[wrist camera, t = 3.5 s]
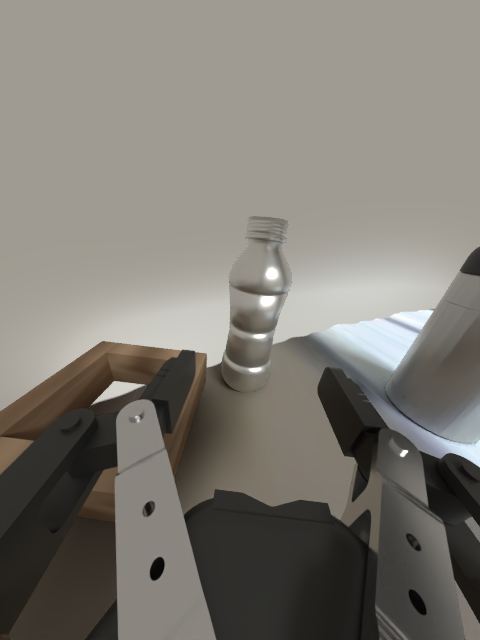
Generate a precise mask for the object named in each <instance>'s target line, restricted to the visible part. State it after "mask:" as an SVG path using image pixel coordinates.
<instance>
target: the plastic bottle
mask: <svg viewBox="0 0 480 640" xmlns="http://www.w3.org/2000/svg"><path fill="white" fill-rule="evenodd" d="M287 228H288V221H287V220H283V219H278V218H270V217H249V220H248V225H247V234H246V236H245V238H247V239H248V244H247V247H246V248H245V250H243V252H242V253H241V254H240V255H239V257H238V258H237V260H236V261H235V262H234V264H233V265H232V268H231V271H230V273H229V284H230V285H229V289H230V306H231V307H230V310H231V311H230V330H229V335H228V340H227V345H226V350H225V352H224V355H223V359H222V362H221V369H222V376H223V378H224V380H225V382H226V383H227V384H228V385H229V386H230V387H231V388H233V389H235V390H237V391H240V392H253V391H256V390H258V389H260V388H261V387H263V386H264V385H265V383H266V381H267V379H268V377H269V375H270V369H271V349H272V342H273V335H274V332H275V327H276V325H277V321H278V318H279V315H280V312H281V310H282V307H283V305H284V302H285V300H286V297H287V295H288V292H289V290H290V287H291V283H292V276H291V271H290V268H289V265H288V262H287V260H286V258H285V256H284V254H283V252H282V244H283V243H286V239H287V238H286V233H287Z"/></svg>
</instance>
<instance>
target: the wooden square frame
mask: <svg viewBox="0 0 480 640" xmlns="http://www.w3.org/2000/svg"><path fill="white" fill-rule="evenodd" d="M180 352H181V351H180V350H172V349H163V348H155V347H146V346H138V345H129V344H122V343H113V342H105V341H102V342H101V343H99V344H98V345H96V346H95V347H93V348H92V349H90V350H89V351H88V352H86V353H85V354H83V355H82V356H80V357H79V358H77V359H76V360H75V361H73V362H72V363H70V364H69V365H67V366H66V367H64V368H63V369H61V370H60V371H59V372H57V373H56V374H54V375H53V376H51V377H50V378H48V379H47V380H45V381H44V382H43V383H41V384H40V385H38V386H37V387H35V388H34V389H32V390H31V391H29V392H28V393H27V394H25V395H24V396H22V397H21V398H19V399H18V400H16V401H15V402H14V403H12V404H11V405H9V406H8V407H6V408H5V409H3V410H2V411H0V474H1V473H2V472H3V471H4V470H5V469H6V468H7V467H8V466H10V465H11V464H12V463H13V462H14V461H15V460H16V459H17V458H18V457H19V456H20V455H21V454H22V453H23V452H24V451H25V450H26V449H27V448H28V447H29V446H30V445H31V444H32V443H33V442H34V441H35V440H36V439H37V438H38V437H39V436H40V435H41V434H42V433H43V432H44V431H45V430H46V429H47V428H48V427H49V426H50V425H51V424H52V423H53V422H54V421H55V420H56V419H58V418H59V417H61V416H62V415H64V414H66V413H68V412H70V411H72V410H75V409H80V408H88V407H89V406H90V405H91V404H92V403H93V402H94V401H95V400H96V399H97V398H98V397H99V396H100V395H101V394H102V393H103V392H104V391H105V390H106V389H107V388H108V387H109V385H111V383H112V382H113V381H120V382H129V383H137V384H145V385H149V384H150V383H151V381H152V380H153V378H154V377H155V376H156V374H157V372H158V371H159V370H160V368H161V367H162V365H163V364H164V362H166V361H167V360H168V359H170V358H171V357H176V358H177V357H178V355H179V354H180ZM206 356H207V354H205V353H196V352H195V359H196V373H195V378H194V381H193V384H192V386H191V389H190V391H189V394H188V396H187V399H186V401H185V404H184V406H183V409H182V411H181V413H180V416H179V418H178V421H177V423H176V426H175V428H174V431H173V433H172V434H167V433H165V435H164V438H163V441H164V445H165V448H166V450H167V454H168V457H169V461H170V465H171V469H172V473H173V477H174V479H175V476H176V472H177V469H178V466H179V463H180V460H181V457H182V454H183V451H184V447H185V444H186V441H187V438H188V435H189V432H190V429H191V425H192V422H193V419H194V416H195V413H196V410H197V407H198V404H199V400H200V397H201V394H202V391H203V388H204V385H205V382H206V359H207V357H206ZM117 473H118V467H114V468H110V469H106V470H103V472H102V474H101V476H100V477H99V479H98V481H97V483H96V484H95V486H94V488H93V489H92V491H91V493H90V495H89V496H88V498H87V500H86V501H85V503H84V505H83V507H82V508H81V510H80V512H79V513H78V515H77V517H80V518H87V519H95V520H103V521H110V522H115V476H116V474H117Z"/></svg>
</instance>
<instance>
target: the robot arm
mask: <svg viewBox="0 0 480 640" xmlns="http://www.w3.org/2000/svg"><path fill="white" fill-rule="evenodd" d="M460 271H461V272H459V273H458V274H457V276H456V277H455V279H454V280H453V282H452V283H451V285H450V287H449V288H448V290H447V291H446V293H445V294H444V296H443V298H442V300H441V301H440V302H439V304H438V306H437V307H436V309H435V310H434V312H433V313H432V315H431V316H430V318H429V319H428V321H427V322H426V324H425V325H424V327H423V329H422V330H421V332H420V333H419V335H418V336H417V338H416V339H415V341H414V342H413V344H412V346H411V347H410V349H409V350H408V352H407V353H406V355H405V356H404V358H403V359H402V361H401V363H400V364H399V365H398V367H397V369H396V370H395V372H394V373H393V375H392V376H391V378H390V379H389V381H388V383H387V384H386V387H385V390H386V393H387V396H388V397H389V399H390V400H391V401H392V403H393V404H394V405H395V406H396V407H397V408H398V409H399V410H400V411H401V412H403V413H404V414H405V415H406V416H407V417H409V418H410V419H412V420H413V421H414V422H416V423H417V424H419V425H420V426H422V427H424V428H425V429H427V430H429V431H431V432H433V433H435V434H437V435H439V436H441V437H444V438H446V439H449V440H452V441H455V442H459V443H465V444H472V443H476V442H477V441H479V440H480V247H478V248H477V249H475V250H474V251H473V252H472V253H471V254H470V256H469V257H468V258H467V260H466V262H465V263H464V265H463V266H462V268H461V269H460ZM195 373H196V359H195V351H190V350H182V351H181V352H180V354H179V355H178V357H177V358H176V357H171V358H170V359H168V360H167V361H166V362H164V364H163V365H162V367H161V368H160V370H159V371H158V372H157V374H156V376H155V377H154V378H153V380H152V381H151V383H150V384H149V385H148V387H147V388H146V390H145V391H144V393H143V394H142V395H141V397H140V398H139V400H136V401H134V402H131V403H129V404H128V405H126V406H125V407H124V408H123V409H122V410H121V411H119V412H115V413H109V414H103V415H98V416H95V414H94V412H93V410H91V409H89V408H80V409H75V410H72V411H70V412H68V413H66V414H64V415H62V416H61V417H59V418H58V419H56V420H55V421H54V422H53V423H52V424H51V425H50V426H49V427H48V428H47V429H46V430H45V431H44V432H43V433H42V434H41V435H40V436H39V437H38V438H37V439H36V440H35V441H34V442H33V443H32V444H31V445H30V446H29V447H28V448H27V449H26V450H25V451H24V452H23V453H22V454H21V455H20V456H19V457H18V458H17V459H16V460H15V461H14V462H13V463H12V464H11V465H10V466H8V467H7V468H6V469H5V470H4V471H3V472H2V473H1V474H0V640H11V639H10V637H9V635H8V634H9V632H10V630H11V629H12V627H13V625H14V623H15V622H16V620H17V618H18V617H19V615H20V613H21V611H22V610H23V608H24V606H25V605H26V603H27V601H28V599H29V598H30V596H31V594H32V592H33V591H34V589H35V587H36V586H37V584H38V582H39V580H40V579H41V577H42V575H43V574H44V572H45V570H46V568H47V567H48V565H49V563H50V562H51V560H52V558H53V556H54V555H55V553H56V551H57V550H58V548H59V546H60V544H61V543H62V541H63V539H64V538H65V536H66V534H67V532H68V531H69V529H70V527H71V525H72V524H73V522H74V520H75V519H76V517H77V515H78V513H79V512H80V510H81V508H82V507H83V505H84V503H85V501H86V500H87V498H88V496H89V495H90V493H91V491H92V489H93V488H94V486H95V484H96V483H97V481H98V479H99V477H100V476H101V474H102V472H103V470H106V469H110V468H114V467H118V473H117V474H116V476H115V523H116V565H117V599H116V601H115V602H114V603H113V605H112V606H111V607H110V608H109V610H108V611H107V612H106V613H105V615H104V616H103V617H102V619H101V620H100V621H99V622H98V624H97V625H96V626H95V627H94V629H93V630H92V631H91V633H90V634H89V635H88V636H87V638H86V639H85V640H465V635H464V630H463V624H462V619H461V613H460V608H459V602H458V597H457V591H456V586H455V581H456V582H457V584H458V586H459V588H460V589H461V591H462V593H463V595H464V597H465V598H466V600H467V602H468V604H469V605H470V607H471V609H472V611H473V612H474V614H475V616H476V618H477V620H478V621H479V623H480V542H479V541H478V540H477V538H476V537H475V535H474V534H473V533H472V531H471V530H470V528H469V527H468V526H467V524H466V523H465V520H467V519H468V518H470V517H473V518H474V520H475V521H476V522H477V524H478V525H479V526H480V468H479V467H478V466H477V465H475V464H474V463H472V462H471V461H469V460H467V459H465V458H464V457H461V456H459V455H456V454H452V453H448V454H446V455H445V456H443V457H442V458H441V459H439V458H436V457H434V456H431V455H429V454H426V453H424V452H421V451H419V450H418V449H417V448H416V447H415V445H414V444H413V443H412V442H411V441H410V440H408V439H407V438H406V437H405V436H403V435H402V434H400V433H398V432H396V431H394V430H391V429H389V427H388V426H387V425H386V423H385V422H384V420H383V419H382V418H381V416H380V415H379V414H378V412H377V411H376V409H375V408H374V407H373V405H372V404H371V403H370V402H369V400H368V399H367V397H366V396H365V395H364V393H363V392H362V390H361V389H360V388H359V386H358V385H357V384H356V383H354V382H353V381H352V380H351V379H350V378H347V376H346V375H345V374H344V372H343V371H342V370H341V369H339V368H331V367H326V368H325V370H324V372H323V375H322V377H321V379H320V382H319V384H318V396H319V398H320V401H321V403H322V405H323V408H324V410H325V412H326V415H327V417H328V419H329V422H330V424H331V426H332V429H333V431H334V433H335V436H336V438H337V440H338V443H339V445H340V447H341V450H342V452H343V454H344V456H349V457H354V458H355V460H356V462H357V463H356V464H355V466H354V470H353V475H352V481H351V486H350V491H349V496H348V501H347V506H346V509H345V511H344V513H343V515H342V518H341V520H339V519H337V518H336V517H334V516H332V515H331V513H330V509H329V506H328V503H321V502H313V501H305V500H298V501H294V502H290V503H286V504H283V505H279V506H275V507H271V506H268V505H266V504H264V503H262V502H260V501H258V500H256V499H254V498H252V497H250V496H248V495H246V494H244V493H240V492H232V491H224V490H216V489H215V493H214V498H213V499H209V500H206V501H204V502H201V503H199V504H198V505H196V506H194V507H193V508H192V509H190V510H189V511H188V512H187V513H186V514H185V515H184V516H183V512H182V508H181V504H180V500H179V496H178V493H177V489H176V485H175V481H174V477H173V473H172V469H171V465H170V461H169V457H168V454H167V450H166V448H165V445H164V441H163V438H164V435H165V433H167V434H172V433H173V431H174V428H175V426H176V423H177V421H178V418H179V416H180V413H181V411H182V409H183V406H184V404H185V401H186V399H187V396H188V394H189V391H190V389H191V386H192V384H193V381H194V378H195ZM454 579H455V580H454Z"/></svg>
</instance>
